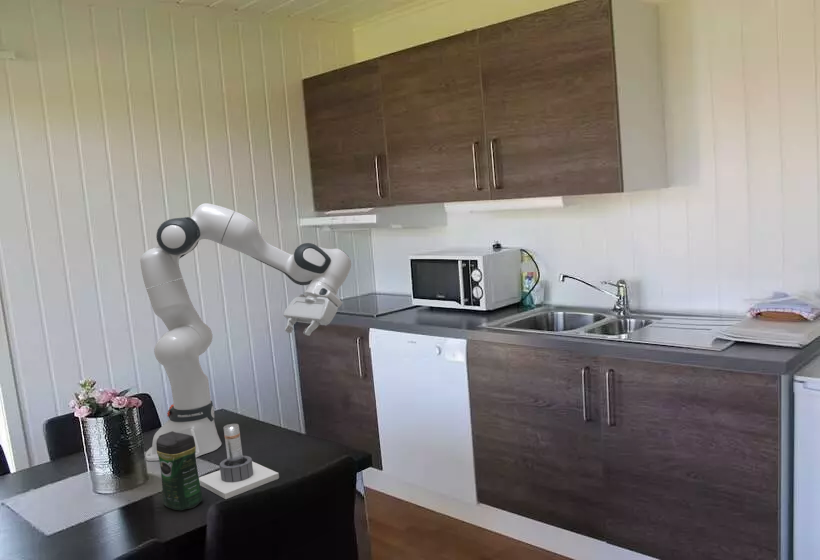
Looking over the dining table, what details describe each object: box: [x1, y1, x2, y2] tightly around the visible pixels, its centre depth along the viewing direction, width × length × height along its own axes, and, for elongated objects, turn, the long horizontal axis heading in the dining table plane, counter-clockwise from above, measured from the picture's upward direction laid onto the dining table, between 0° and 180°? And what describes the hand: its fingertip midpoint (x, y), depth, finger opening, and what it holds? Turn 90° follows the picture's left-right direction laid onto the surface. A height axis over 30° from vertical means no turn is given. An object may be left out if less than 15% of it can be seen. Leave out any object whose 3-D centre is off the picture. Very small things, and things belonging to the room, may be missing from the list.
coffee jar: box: [156, 431, 203, 511], centre depth 177 cm, size 10×8×19 cm
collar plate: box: [198, 455, 280, 500], centre depth 190 cm, size 16×16×6 cm
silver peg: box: [223, 423, 244, 466], centre depth 189 cm, size 4×4×14 cm
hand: (296, 333), depth 211 cm, fingers open, 8 cm apart
